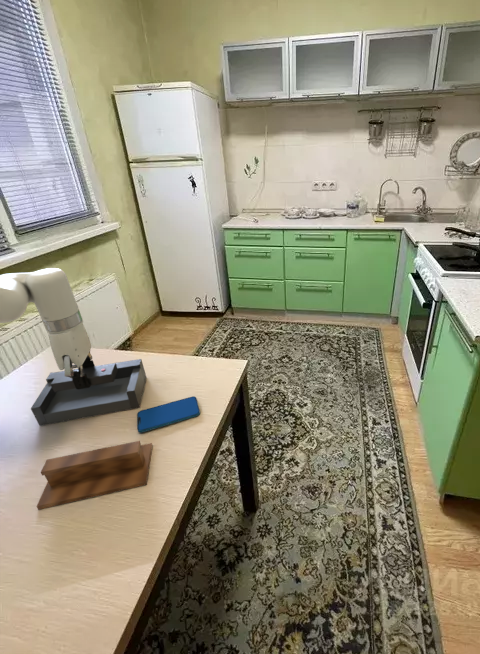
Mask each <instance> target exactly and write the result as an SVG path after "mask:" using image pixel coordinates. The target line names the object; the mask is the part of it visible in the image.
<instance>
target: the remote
mask: <svg viewBox="0 0 480 654" xmlns="http://www.w3.org/2000/svg"><path fill="white" fill-rule="evenodd" d="M116 363H117V362H113V363H106V364H99V365H95V366H93V367H87V368H83V371H84V374H86V375H87V377H88V380H89V383H90V386H92V385H98V384H104V383H109V382H114V380H115V377H116V374H117V372H118V368H117V365H116ZM73 369H74V370H73V371H78V372H79V370H78V368H73ZM61 371H62V372H60V371H57V372H58V373H57V375H56V376H55V378H54V380H53V381H52V383H51V386H52V388H53V391H54V392H57V391H63V390H69V389H74V388H76V387H75V385H74V383H73V380H72V379H71V378H70V377H65V372H64V370H61Z"/></svg>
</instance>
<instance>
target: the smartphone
mask: <svg viewBox="0 0 480 654" xmlns="http://www.w3.org/2000/svg"><path fill="white" fill-rule="evenodd" d="M199 415H201V410H200V406H199V404H198V398H197V397H196V396H195V395H193V396H189V397H185V398H181V399H178V400H175V401H170V402H167V403H163V404H160V405H156V406H153V407H149V408H145V409H141V410H139V411H138V412H136V427H137V432H138V433H140V434H141V433H144V432H148V431H152V430H155V429H158V428H162V427H166V426H169V425H172V424H175V423H179V422H182V421H186V420H189V419H192V418H196V417H198V416H199Z"/></svg>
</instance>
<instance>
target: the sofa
mask: <svg viewBox="0 0 480 654" xmlns="http://www.w3.org/2000/svg"><path fill="white" fill-rule="evenodd" d="M115 363H116V365H117V368H118V372H117V374H116V377H115V380H114V382H109V383H104V384H98V385H92V386H90V387H89V388H84V389H76V388H74V389H69V390H63V391H57V392H54V391H53V388H52V386H51V383H52V381H53V380H54V378H55V376H56V375H57V373H58V372H62V371H63V370H60V371H55V372H50V373H49V374H48V376H47V377H46V378H45V381H46V383H45V385H44V387H43V389H42V390H41V392H40V393H39V395H38V396H37V398H36V400H35V401H34V402H33V404H32V405H31V407H30V410H31V412H32V414H33V416H34V418H35V420H36V422H37V424H38V426H39V427H43V426H48V425H52V424H53V425H54V424H58V423H64V422H69V421H75V420H76V421H77V420H80V419H81V420H82V419H85V418H91V417H97V416H101V415H103V416H104V415H106V414H113V413H119V412H125V411H130V410H135V409H140V408H141V403H142V399H143V395H144V390H145V386H146V383H147V375H146V371H145V367H144V363H143V359H142V358H138V359H137V358H136V359H132V360H125V361H119V362H115ZM74 369H75V368H73V370H74Z"/></svg>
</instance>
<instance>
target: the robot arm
mask: <svg viewBox="0 0 480 654" xmlns="http://www.w3.org/2000/svg"><path fill="white" fill-rule="evenodd" d="M30 303H33V304H34V305H35V308H36V310H37V312H38V314H39V316H40V319H41V322H42V323H43V326H44V329H45V331H46V332H47V333H48V340H49V345H50V349H51V352H52V355H53V358H54V361H55V363H56V365H57V368H58V370H60V371H64V372H65V377H70V378H71V379H72V380H73V383H74V385H75V387H76V389H84V388H89V387H90V383H89V380H88V377H87V375H86V374H84V371H83V368H87V367H93V366H96V364H95V362H94V360H93V356H92V354H91V349H92V343H91V339H90V336H89V334H88V332H87V330H86V327H85V325H84V320H83V316H82V314H81V311H80V309H79V306H78V303H77V301H76V298H75V295H74V292H73V290H72V287H71V284H70V281H69V279H68V276H67V273H66V272H65V271H64V270H63V269H61V268H58V267H57V268H56V267H47V268H43V269H39V270H36V271H30V272H11V273H3V274H0V324H5V323H10V322H14V321H17V320H18V319H19V318H21V317H22V316H23V315H24V314H25V312H26V311H27V308H28V305H29V304H30ZM73 369H78V370H79V372H78V371H73Z"/></svg>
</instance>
